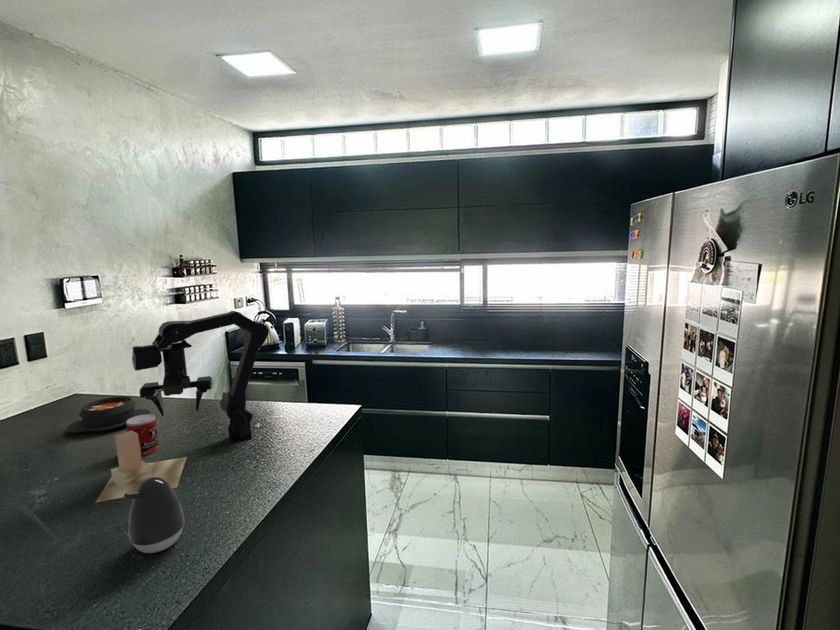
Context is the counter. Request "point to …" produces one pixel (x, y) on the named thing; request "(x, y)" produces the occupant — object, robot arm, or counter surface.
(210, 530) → the counter surface
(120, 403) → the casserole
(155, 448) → the canned food
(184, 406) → the counter surface
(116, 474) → the slab top
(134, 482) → the slab bottom
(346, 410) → the counter surface
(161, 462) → the beige square cloth
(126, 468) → the post
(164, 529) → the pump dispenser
